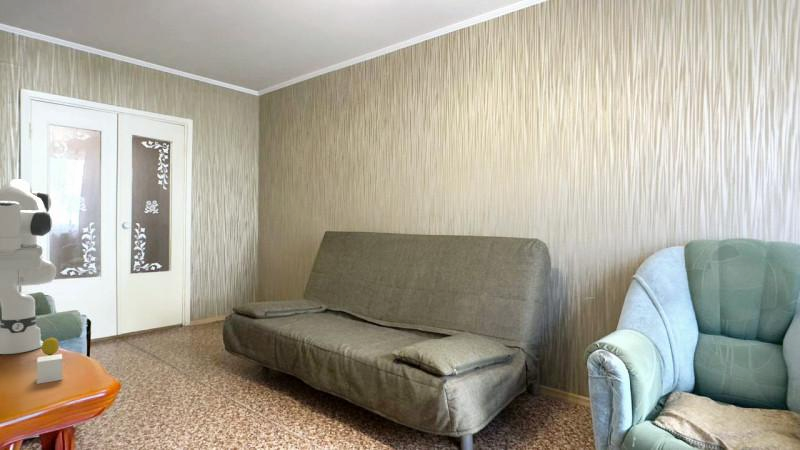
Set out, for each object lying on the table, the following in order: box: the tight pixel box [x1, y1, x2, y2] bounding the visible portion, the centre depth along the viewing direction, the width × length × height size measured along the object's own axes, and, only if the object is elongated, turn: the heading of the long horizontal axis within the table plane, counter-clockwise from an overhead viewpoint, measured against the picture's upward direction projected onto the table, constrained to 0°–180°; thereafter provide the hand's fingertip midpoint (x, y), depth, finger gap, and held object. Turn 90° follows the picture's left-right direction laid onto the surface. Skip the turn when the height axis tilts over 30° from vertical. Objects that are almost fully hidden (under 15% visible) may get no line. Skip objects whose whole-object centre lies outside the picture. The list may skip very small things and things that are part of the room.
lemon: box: [41, 336, 60, 356], centre depth 184 cm, size 6×6×8 cm
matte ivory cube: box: [36, 353, 63, 385], centre depth 158 cm, size 7×7×8 cm
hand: (5, 282), depth 161 cm, fingers open, 8 cm apart
